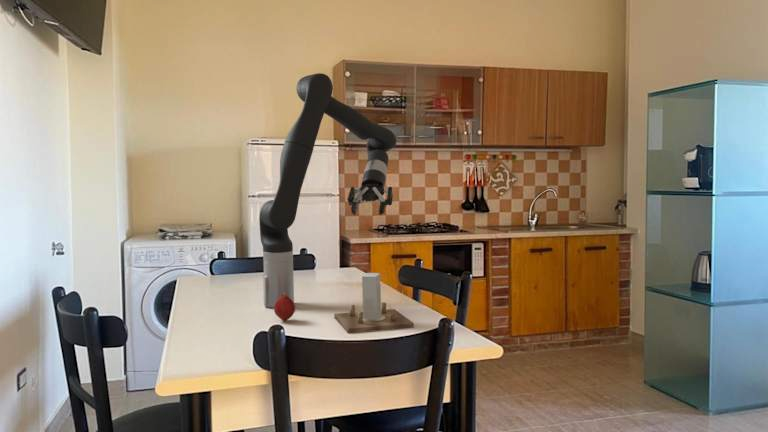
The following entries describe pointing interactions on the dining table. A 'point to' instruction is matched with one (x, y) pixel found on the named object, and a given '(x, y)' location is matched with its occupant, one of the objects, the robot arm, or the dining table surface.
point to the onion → (284, 307)
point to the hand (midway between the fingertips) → (367, 213)
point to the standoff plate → (386, 321)
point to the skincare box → (371, 296)
